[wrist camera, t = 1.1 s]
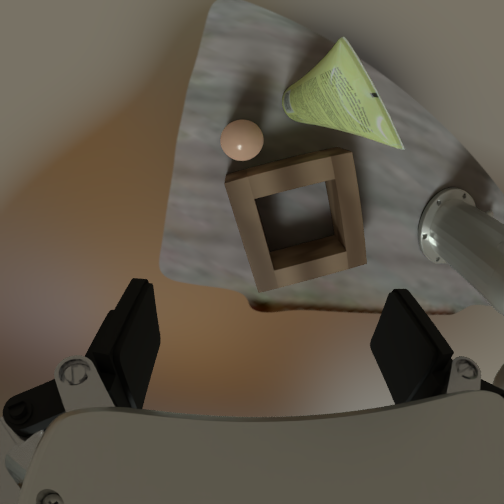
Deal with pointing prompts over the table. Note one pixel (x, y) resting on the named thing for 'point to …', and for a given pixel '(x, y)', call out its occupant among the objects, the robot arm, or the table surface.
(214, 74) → the table surface
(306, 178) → the square wooden frame
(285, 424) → the robot arm
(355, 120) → the tube
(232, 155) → the short stub
